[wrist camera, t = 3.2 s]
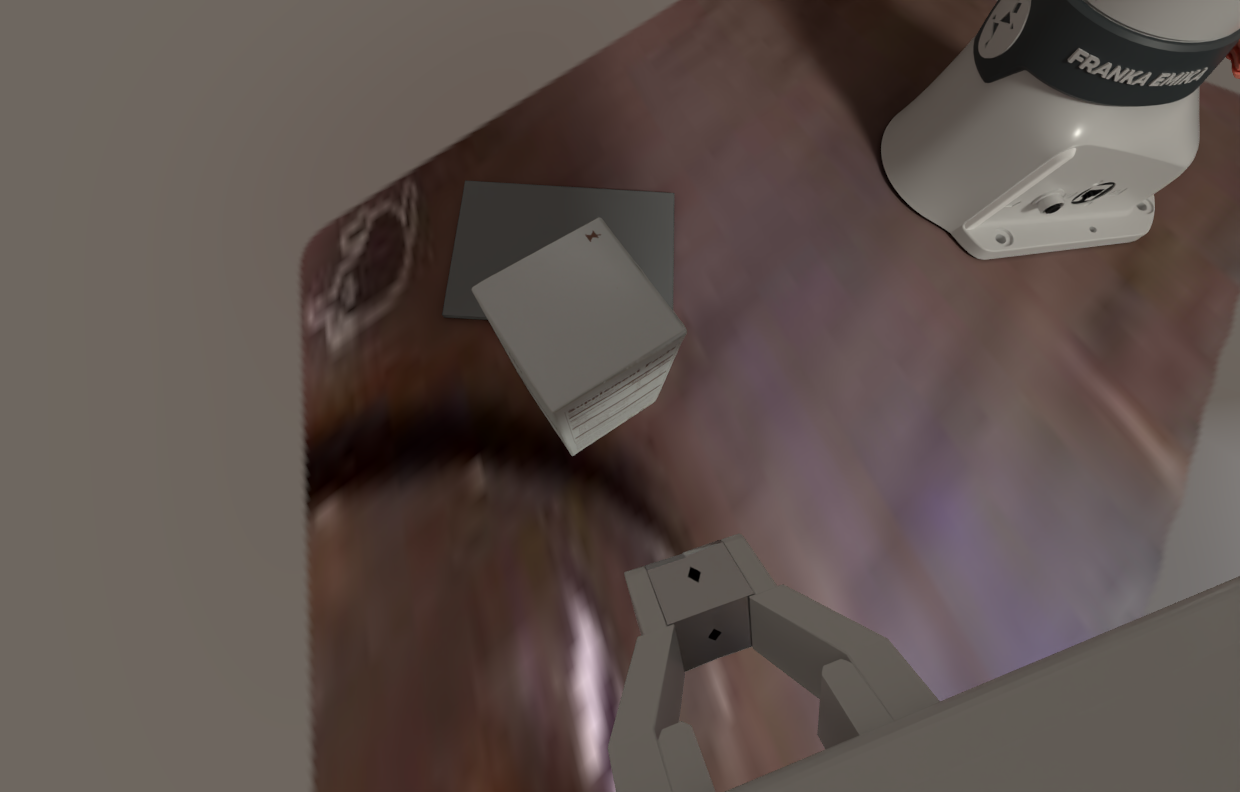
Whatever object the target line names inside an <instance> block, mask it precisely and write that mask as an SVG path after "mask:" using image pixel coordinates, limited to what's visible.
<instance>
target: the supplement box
mask: <svg viewBox="0 0 1240 792" xmlns="http://www.w3.org/2000/svg"><path fill="white" fill-rule="evenodd" d="M472 292H473V294H474V296H475V298H476V299H477V301H478V303H479V305H480V307H481V308H482V310H483V312H484V314H485V316H486V317H487V319H488V321H489V323H490V324H491V326H492V328H493V330H494V331H495V333H496V335H497V337H498V338H499V340H500V342H501V344H502V345H503V347H504V349H505V351H506V352H507V354H508V356H509V358H510V360H511V362H512V363H513V365H514V367H515V369H516V370H517V372H518V374H519V375H520V377H521V379H522V380H523V382H524V383H525V385H526V387H527V388H528V390H529V391H530V393H531V395H532V396H533V398H534V399H535V401H536V402H537V404H538V405H539V407H540V408H541V410H542V411H543V413H544V415H545V416H546V418H547V419H548V421H549V422H550V424H551V425H552V427H553V428H554V430H555V431H556V433H557V434H558V436H559V437H560V439H561V440H562V442H563V443H564V445H565V446H566V448H567V449H568V451H569V453H570V454H571V455H572V456H573V455H575V454H577V453H578V452H579V451H581V450H582V449H584V448H585V447H587V446H588V445H590V444H591V443H593V442H594V441H596V440H597V439H599V438H601V437H602V436H604V435H605V434H607V433H608V432H610V431H611V430H613V429H614V428H616V427H617V426H619V425H620V424H622V423H623V422H625V421H626V420H628V419H630V418H631V417H633V416H634V415H636V414H637V413H639V412H640V411H642V410H643V409H645V408H646V407H648V406H649V405H651V404H652V403H654V402H655V401H656V399H657V396H658V394H659V392H660V391H661V388H662V386H663V383H664V381H665V379H666V377H667V374H668V372H669V370H670V368H671V365H672V363H673V360H674V358H675V356H676V354H677V351H678V349H679V347H680V345H681V343H682V341H683V339H684V337H685V335H686V333H687V330H686V328H685V326H684V325H683V323H682V322H681V321H680V320H679V318H678V317H677V315H676V314H675V313H674V312H673V310H672V309H671V308H670V307H669V305H668V304H667V303H666V302H665V300H664V299H663V298H662V296H661V295H660V294H659V292H658V291H657V290H656V289H655V287H654V286H653V285H652V283H651V282H650V281H649V279H648V278H647V277H646V275H645V274H644V272H643V271H642V270H641V268H640V267H639V266H638V265H637V263H636V262H635V261H634V260H633V259H632V257H631V256H630V255H629V253H628V252H627V251H626V250H625V248H624V247H623V246H622V244H621V243H620V242H619V241H618V239H617V238H616V237H615V235H614V234H613V233H612V231H611V230H610V229H609V228H608V226H607V225H606V223H605V222H604V220H603V219H602V218H600V217H598V218H596V219H595V220H593V221H591V222H590V223H588V224H586V225H584V226H582V227H580V228H578V229H577V230H575V231H573V232H571V233H569V234H567V235H566V236H564V237H562V238H560V239H558V240H556V241H555V242H553V243H551V244H549V245H547V246H545V247H543V248H542V249H540V250H538V251H536V252H534V253H533V254H531V255H529V256H527V257H525V258H523V259H522V260H520V261H518V262H516V263H514V264H512V265H511V266H509V267H507V268H505V269H503V270H502V271H500V272H498V273H496V274H494V275H492V276H490V277H489V278H487V279H485V280H483V281H482V282H480V283H478V284H477V285H475V286H474V287H472Z"/></svg>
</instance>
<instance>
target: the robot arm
mask: <svg viewBox="0 0 1240 792" xmlns="http://www.w3.org/2000/svg"><path fill="white" fill-rule="evenodd" d="M1225 57H1226V58H1227V59H1229V60H1231V63H1232V72H1233V75H1234V77H1235V78H1238V79H1240V0H998V1H997V3H996V4H995V6H994V7H993V9H992V10H991V12H990V13H989V15H988V17H987V18H986V20H985V21H984V23H983V25H982V27H981V28H980V30H979V32H978V33H977V34H976V36H975V37H974V38H973V39H972V40H971V41H970V43H969V44H968V45H967V46H966V47H965V48H964V49H963V50H962V51H961V53H960V54H959V55H958V56H957V57H956V58H955V59H954V60H953V61H952V62H951V63H950V64H949V66H948V67H947V68H946V69H945V70H944V71H943V72H942V73H941V74H940V75H939V76H938V77H937V78H936V79H935V80H934V81H933V82H932V83H931V84H930V85H929V86H928V87H927V88H926V89H925V90H924V91H923V92H922V93H921V94H920V95H919V96H918V97H917V98H916V99H914V100H913V101H912V102H911V103H910V104H909V105H908V106H907V107H905V108H904V109H903V110H902V111H900V112H899V113H898V114H897V115H896V116H895V117H894V118H893V119H892V120H891V121H890V123H889V124H888V126H887V127H886V129H885V132H884V134H883V138H882V143H881V156H882V162H883V166H884V169H885V172H886V174H887V176H888V178H889V180H890V182H891V184H892V185H893V187H894V188H895V190H896V191H897V192H898V194H899V195H900V196H901V197H902V198H903V199H904V201H905V202H906V203H907V204H909V205H910V206H911V207H912V208H913V209H914V210H916V211H917V212H918V213H919V214H921V215H922V216H924V217H925V218H927V219H929V220H930V221H932V222H934V223H935V224H937V225H939V226H941V227H942V228H944V229H945V230H947V231H948V232H949V233H951V235H952V236H953V237H954V238H955V239H956V240H957V241H958V243H959V244H960V245H961V246H962V247H963V248H964V249H965V250H966V251H967V252H968V253H970V254H971V255H972V256H974V257H976V258H978V259H994V258H1003V257H1011V256H1019V255H1027V254H1036V253H1044V252H1052V251H1061V250H1069V249H1077V248H1085V247H1094V246H1102V245H1110V244H1119V243H1126V242H1132V241H1136V240H1137V239H1139V238H1140V237H1142V236H1143V235H1145V234H1146V233H1148V231H1149V229H1150V227H1151V225H1152V222H1153V218H1154V211H1155V201H1154V193H1156V192H1157V191H1159V190H1160V189H1162V188H1163V187H1165V186H1166V185H1168V184H1169V183H1170V182H1172V181H1173V180H1175V179H1176V178H1177V177H1178V176H1180V175H1181V174H1182V173H1183V172H1184V171H1185V170H1186V169H1187V168H1188V167H1189V165H1190V164H1191V162H1192V161H1193V159H1194V158H1195V155H1196V152H1197V150H1198V146H1199V132H1200V128H1199V86H1200V85H1201V84H1202V83H1203V82H1204V80H1205V79H1206V78H1207V77H1208V76H1209V75H1210V74H1211V73H1212V71H1213V70H1214V69H1215V68H1216V67H1217V66H1218V64H1219V63H1220V62H1221V61H1222V60H1223V59H1224V58H1225ZM624 575H625V579H626V582H627V586H628V590H629V593H630V597H631V601H632V604H633V608H634V612H635V615H636V619H637V622H638V626H639V629H640V632H641V635H642V636H639V637H637V641H636V645H635V649H634V652H633V656H632V660H631V663H630V667H629V671H628V675H627V678H626V682H625V686H624V689H623V693H622V697H621V701H620V704H619V708H618V712H617V715H616V719H615V723H614V727H613V730H612V734H611V738H610V742H609V745H608V751H609V757H610V762H611V767H612V773H613V778H614V783H615V788H616V792H715V790H714V787H713V784H712V781H711V779H710V776H709V773H708V770H707V768H706V765H705V762H704V759H703V756H702V754H701V751H700V748H699V745H698V743H697V740H696V737H695V734H694V732H693V729H692V726H691V725H689V724H687V723H684V722H682V721H681V722H679V717H680V709H681V702H682V694H683V686H684V679H685V672H686V671H688V670H691V669H693V668H696V667H698V666H700V665H703V664H705V663H708V662H710V661H713V660H715V659H717V658H720V657H723V656H726V655H729V654H732V653H735V652H738V651H741V650H743V649H746V648H749V647H752V646H753V649H754V650H755V651H757V652H758V653H759V654H761V655H762V656H763V657H765V658H766V659H767V660H769V661H770V662H771V663H773V664H774V665H775V666H777V667H778V668H779V669H781V670H782V671H783V672H784V673H786V674H787V675H788V676H790V677H791V678H792V679H794V680H795V681H796V682H798V683H799V684H800V685H802V686H803V687H804V688H806V689H807V690H808V691H809V692H811V693H812V694H813V695H815V696H816V697H817V698H819V699H820V706H819V720H818V734H817V735H818V736H819V738H820V740H821V742H822V744H823V745H824V747H825V749H826V750H823V751H821V752H818V753H816V754H814V755H811V756H809V757H807V758H804V759H802V760H799V761H797V762H795V763H792V764H790V765H787V766H785V767H783V768H780V769H778V770H775V771H773V772H771V773H768V774H766V775H764V776H761V777H759V778H756V779H754V780H752V781H749V782H747V783H744V784H742V785H740V786H737V787H735V788H732V789H730V790H728V791H725V792H1240V576H1239V577H1237V578H1234V579H1232V580H1230V581H1227V582H1225V583H1223V584H1220V585H1217V586H1215V587H1213V588H1210V589H1208V590H1206V591H1203V592H1201V593H1198V594H1196V595H1194V596H1191V597H1189V598H1186V599H1184V600H1182V601H1179V602H1177V603H1174V604H1172V605H1170V606H1167V607H1165V608H1163V609H1160V610H1158V611H1156V612H1153V613H1151V614H1148V615H1146V616H1143V617H1141V618H1139V619H1136V620H1134V621H1131V622H1129V623H1127V624H1124V625H1122V626H1120V627H1117V628H1115V629H1112V630H1110V631H1108V632H1105V633H1103V634H1100V635H1098V636H1096V637H1093V638H1091V639H1088V640H1086V641H1084V642H1081V643H1079V644H1077V645H1074V646H1072V647H1069V648H1067V649H1065V650H1062V651H1060V652H1057V653H1055V654H1053V655H1050V656H1048V657H1045V658H1043V659H1041V660H1038V661H1036V662H1033V663H1031V664H1029V665H1026V666H1024V667H1022V668H1019V669H1017V670H1014V671H1012V672H1010V673H1007V674H1005V675H1002V676H1000V677H998V678H995V679H993V680H990V681H988V682H986V683H983V684H981V685H979V686H976V687H974V688H971V689H969V690H967V691H964V692H962V693H959V694H957V695H955V696H952V697H950V698H947V699H945V700H943V701H939V700H938V699H937V697H936V696H935V695H934V694H933V693H932V691H931V690H930V689H929V688H928V687H927V685H926V684H925V683H924V682H923V681H922V679H921V678H920V677H919V676H918V675H917V673H916V672H915V671H914V670H913V669H912V667H911V666H910V665H909V664H908V663H907V661H906V660H905V659H904V658H903V657H902V655H901V654H900V653H899V652H898V651H897V649H896V648H895V647H894V646H893V645H892V643H891V642H890V641H889V640H888V639H887V638H885V637H883V636H881V635H879V634H877V633H875V632H874V631H872V630H870V629H868V628H866V627H864V626H862V625H860V624H858V623H856V622H854V621H852V620H851V619H849V618H847V617H845V616H843V615H841V614H839V613H837V612H835V611H833V610H831V609H829V608H828V607H826V606H824V605H822V604H820V603H818V602H816V601H814V600H812V599H810V598H808V597H806V596H805V595H803V594H801V593H799V592H797V591H795V590H793V589H791V588H789V587H787V586H785V585H779V586H777V585H776V584H775V582H774V581H773V579H772V578H771V576H770V575H769V573H768V572H767V570H766V569H765V567H764V566H763V564H762V563H761V562H760V560H759V559H758V557H757V556H756V554H755V553H754V551H753V550H752V548H751V547H750V545H749V544H748V542H747V541H746V539H745V538H744V536H742V535H741V534H736V535H733V536H730V537H727V538H725V539H722V540H717V541H715V542H712V543H709V544H706V545H703V546H701V547H698V548H695V549H692V550H690V551H687V552H684V553H682V554H681V555H677V556H674V557H671V558H668V559H665V560H661V561H658V562H655V563H652V564H649V565H645V567H644V566H643V567H640V568H637V569H634V570H630V571H627V572H624Z"/></svg>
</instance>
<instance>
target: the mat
mask: <svg viewBox="0 0 1240 792" xmlns="http://www.w3.org/2000/svg"><path fill="white" fill-rule="evenodd" d="M598 217H600V218H602V219H603V220H604V222H605V223H606V225H607V226H608V228H609V229H610V230H611V231H612V233H613V234H614V235H615V237H616V238H617V239H618V241H619V242H620V243H621V244H622V246H623V247H624V248H625V250H626V251H627V252H628V253H629V255H630V256H631V257H632V259H633V260H634V261H635V262H636V263H637V265H638V266H639V267H640V268H641V270H642V271H643V272H644V274H645V275H646V277H647V278H648V279H649V281H650V282H651V283H652V285H653V286H654V287H655V289H656V290H657V291H658V292H659V294H660V295H661V296H662V298H663V299H664V300H665V302H666V303H667V304H668V305H669V307H670V308H671V309H672V310H673V268H674V193H663V192H646V191H629V190H613V189H596V188H579V187H563V186H546V185H529V184H513V183H496V182H479V181H465V185H464V191H463V196H462V202H461V208H460V214H459V220H458V226H457V231H456V237H455V243H454V249H453V255H452V260H451V266H450V272H449V278H448V284H447V289H446V295H445V301H444V307H443V313H442V315H443V317H446V318H465V319H483V320H488V319H487V317H486V316H485V314H484V312H483V310H482V308H481V307H480V305H479V303H478V301H477V299H476V298H475V296H474V294H473V292H472V287H474V286H475V285H477V284H478V283H480V282H482V281H483V280H485V279H487V278H489V277H490V276H492V275H494V274H496V273H498V272H500V271H502V270H503V269H505V268H507V267H509V266H511V265H512V264H514V263H516V262H518V261H520V260H522V259H523V258H525V257H527V256H529V255H531V254H533V253H534V252H536V251H538V250H540V249H542V248H543V247H545V246H547V245H549V244H551V243H553V242H555V241H556V240H558V239H560V238H562V237H564V236H566V235H567V234H569V233H571V232H573V231H575V230H577V229H578V228H580V227H582V226H584V225H586V224H588V223H590V222H591V221H593V220H595V219H596V218H598Z"/></svg>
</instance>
